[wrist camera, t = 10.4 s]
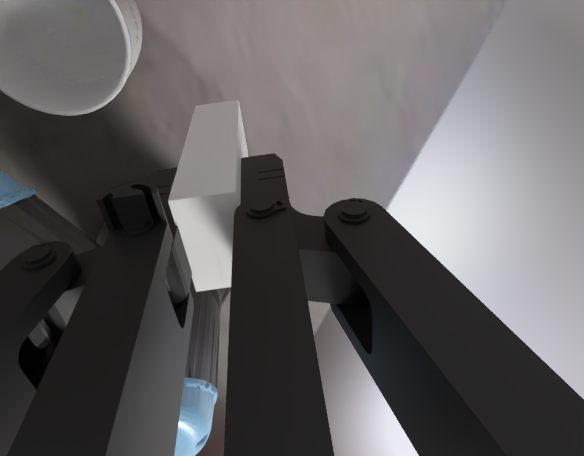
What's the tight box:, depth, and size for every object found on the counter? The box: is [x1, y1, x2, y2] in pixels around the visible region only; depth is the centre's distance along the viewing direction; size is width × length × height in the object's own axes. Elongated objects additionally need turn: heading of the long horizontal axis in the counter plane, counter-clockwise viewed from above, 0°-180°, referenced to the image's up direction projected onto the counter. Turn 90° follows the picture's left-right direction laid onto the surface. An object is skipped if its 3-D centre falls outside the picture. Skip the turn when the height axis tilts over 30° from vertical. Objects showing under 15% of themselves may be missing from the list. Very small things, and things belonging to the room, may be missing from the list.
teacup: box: [0, 0, 142, 116], centre depth 30 cm, size 14×11×8 cm
